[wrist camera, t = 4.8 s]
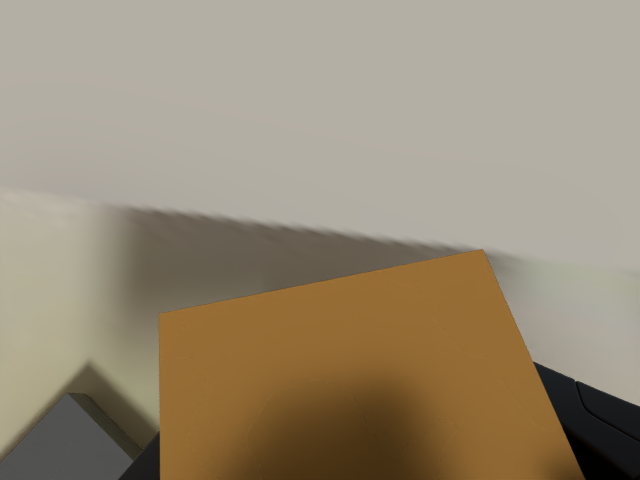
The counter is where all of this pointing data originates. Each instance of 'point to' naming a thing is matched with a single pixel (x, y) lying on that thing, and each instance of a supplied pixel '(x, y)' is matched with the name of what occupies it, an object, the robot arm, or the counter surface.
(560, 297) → the counter surface
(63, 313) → the counter surface
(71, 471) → the dark grey tray
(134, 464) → the robot arm
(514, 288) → the counter surface
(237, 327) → the block
